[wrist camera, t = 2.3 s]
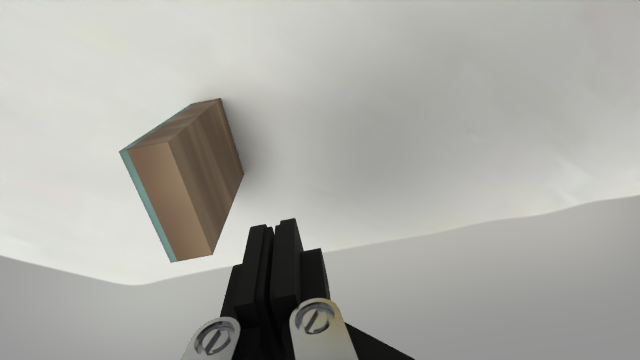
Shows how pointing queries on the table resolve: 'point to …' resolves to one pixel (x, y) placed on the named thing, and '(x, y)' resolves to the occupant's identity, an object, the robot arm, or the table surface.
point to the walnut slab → (187, 178)
